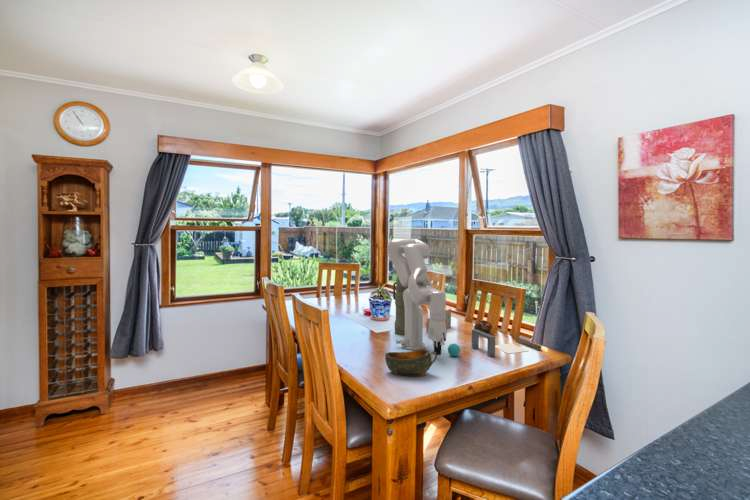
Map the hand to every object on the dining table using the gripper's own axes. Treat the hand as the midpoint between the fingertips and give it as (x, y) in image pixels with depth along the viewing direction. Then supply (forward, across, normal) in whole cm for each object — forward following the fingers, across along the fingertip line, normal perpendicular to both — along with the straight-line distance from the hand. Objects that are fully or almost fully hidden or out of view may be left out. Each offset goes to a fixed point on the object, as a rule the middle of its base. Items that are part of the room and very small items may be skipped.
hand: (437, 354), depth 177 cm
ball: (-1, 0, +9) cm, 9 cm away
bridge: (+2, 0, +26) cm, 26 cm away
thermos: (+1, -46, +2) cm, 46 cm away
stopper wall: (+2, 0, +55) cm, 55 cm away
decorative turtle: (+2, -28, +47) cm, 55 cm away
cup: (+3, +12, -21) cm, 24 cm away
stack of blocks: (+2, -45, +27) cm, 52 cm away
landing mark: (+2, 0, +43) cm, 43 cm away
